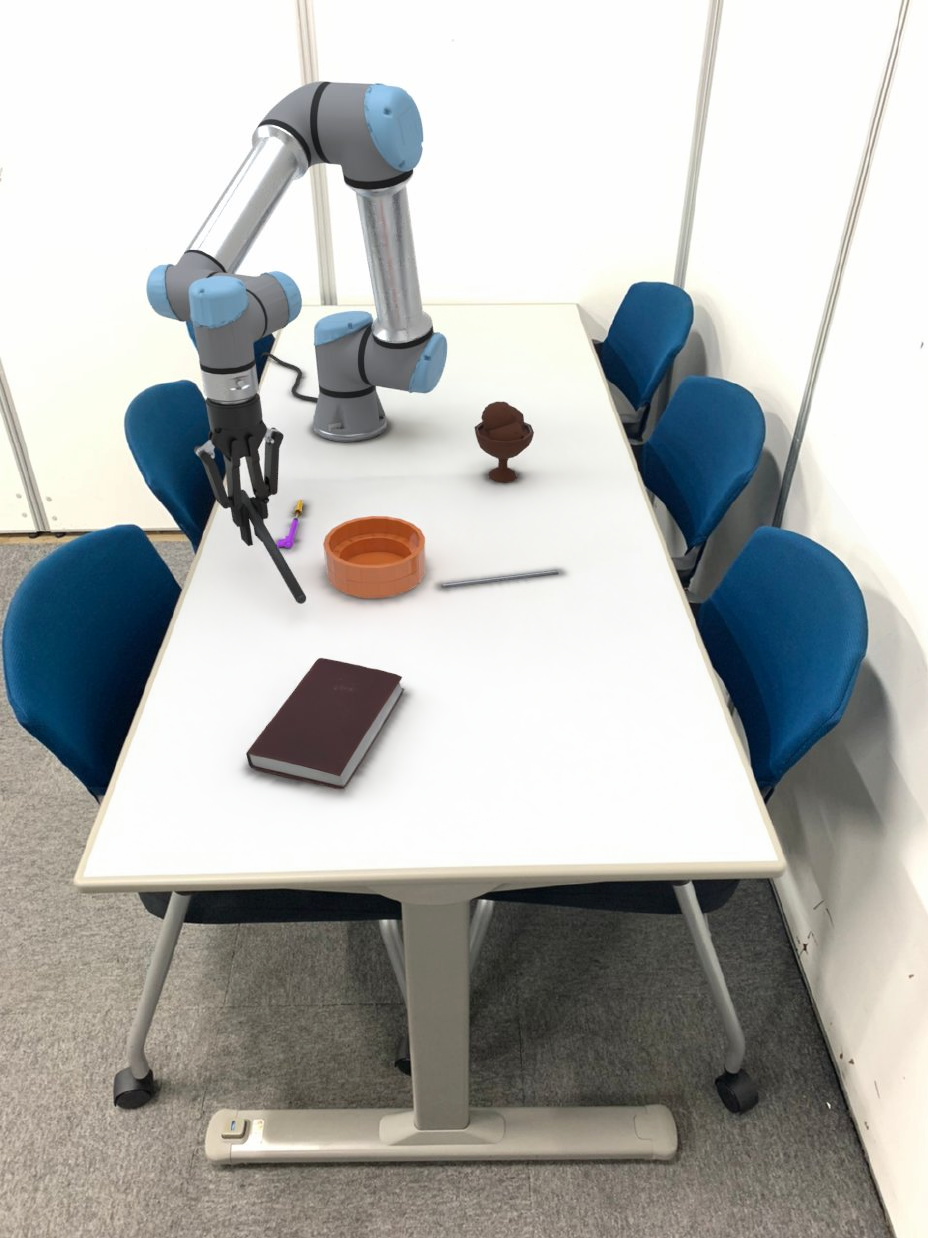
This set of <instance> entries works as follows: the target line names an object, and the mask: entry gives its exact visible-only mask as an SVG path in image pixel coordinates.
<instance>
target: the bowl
mask: <svg viewBox="0 0 928 1238" xmlns="http://www.w3.org/2000/svg"><path fill="white" fill-rule="evenodd" d="M323 555H324V557H323V558H324V565H325V574H326V577H327V581H328V582H329V583H330V585H332V586H333V588H335V589H336V590H338V591H340V592H342V593H344V594H346V595H349V596H354V597H359V598H363V599H364V598H367V599H369V598H370V599H381V598H386V597H394V596H396V595H400V594H403V593H405V592H408V591H410V590H412V589H413V588H414V587H415V586H416V587H417V585H419V584H420V583H421V581H422V580H423V579H424V577H425V576H426V570H427V569H426V567H427V563H426V562H427V560H426V559H427V558H426V537H425V535H424V533H423V531H422V529H420V528H419V527H418V526H416V525H415V524H414V523H412V522H410V521H407V520H405V519H402V518H399V517H392V516H386V515H370V516H363V517H356V518H353V519H350V520H349V519H348V520H346V521H344V522H341V523H340V524H338V525H336V526H335V527H333V528H331V530H330V531H329V532H327V534H326V535H325V537H324V540H323Z"/></svg>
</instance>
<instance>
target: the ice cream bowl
mask: <svg viewBox="0 0 928 1238" xmlns="http://www.w3.org/2000/svg"><path fill="white" fill-rule="evenodd" d="M473 428H474V433H475V437H476V440H477V443H478V446H479V448H480V449H481V450H482V451H483V452H484V453H486V454H487V455H489V456H491V457H493V458H495V459H497V461H498V462H497V463H498V464H497V466H496V467H494V468H492V469H491V470H490V471H488V474H487V476H488V479H489V480H491V481H493V482H494V483H501V484H506V483H510V482H514V481H515V480H516V479H517V478H518V476H517V473H516V470H514V469H511V468H510V467H508V461H509V459H513V458H515V457H517V456H519V455H520V454H521V453H522V452H523V451H524V450H526V449H527V448H528V447H529V446H530V444H531V443H532V441H533V438H534V434H535V431H534V429H533V427H532V424H529V423H527V422H525V416H524V413H522V412H521V411H520V410H519V409H518V408H516V407H515V406H512V405H510V404H509V403H508V402H506V401H499V400H498V401H494V402H491V403H488V404H487V406H485V407H484V410H483V411H482V414H481V422H479V423H478V424H476V425H475V426H474V427H473Z"/></svg>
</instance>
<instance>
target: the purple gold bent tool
mask: <svg viewBox="0 0 928 1238" xmlns="http://www.w3.org/2000/svg"><path fill="white" fill-rule="evenodd" d="M303 507H304V500H303V499H300V500H298V501H297V503H296V507H295V508H294V514H295V515H296V516H295V517H294V518H293V519H292V521H291V525H290V529H289V532H288V535H285V537H284V538H281V539H278V540H277V543H276V545H277V547H278V548H282V547H285V549H288V548H292V547H293V545H294V541H295V535H296V532H297V529H298V525H299V519H298V517H299V516H300V515H302V513H303Z"/></svg>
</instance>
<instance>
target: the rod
mask: <svg viewBox="0 0 928 1238" xmlns="http://www.w3.org/2000/svg"><path fill="white" fill-rule="evenodd" d="M553 575H559V570H558V569H553V570H543V571H536V572H527V573H521V574H511V575H504V576H496V577H495V576H494V577H488V578H480V579H471V580H464V581H455V582H446V583H442V584H441V586H440V587H441V588H442V589H447V588H456V587H464V586H473V585H480V584H489V583H496V582H505V581H512V580H521V579H522V580H523V579H528V578H537V577H545V576H553Z"/></svg>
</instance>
